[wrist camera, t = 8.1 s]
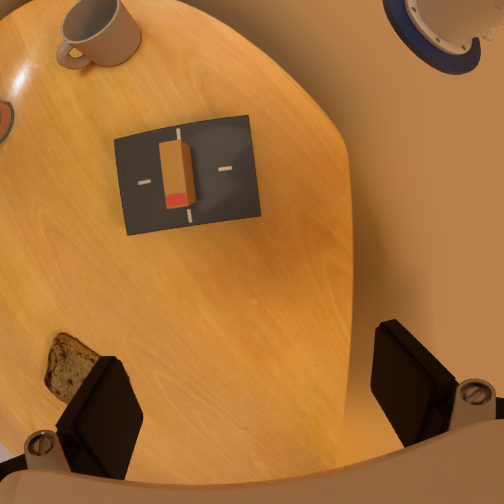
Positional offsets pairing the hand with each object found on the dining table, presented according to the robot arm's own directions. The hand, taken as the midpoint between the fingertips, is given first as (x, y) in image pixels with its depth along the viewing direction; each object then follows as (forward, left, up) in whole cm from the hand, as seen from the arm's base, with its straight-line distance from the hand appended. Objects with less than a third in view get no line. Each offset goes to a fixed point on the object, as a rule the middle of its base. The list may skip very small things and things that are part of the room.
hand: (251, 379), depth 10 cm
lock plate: (+5, -8, -26) cm, 28 cm away
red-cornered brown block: (+5, -8, -23) cm, 25 cm away
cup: (+14, -27, -26) cm, 40 cm away
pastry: (+28, +19, -26) cm, 43 cm away
